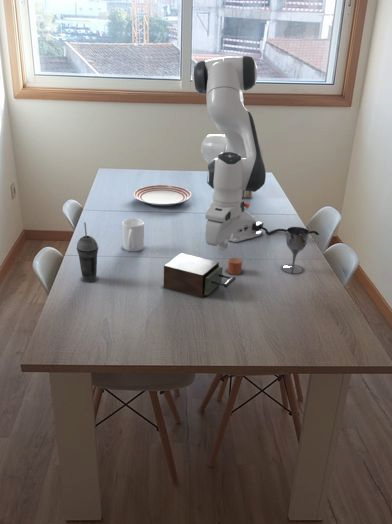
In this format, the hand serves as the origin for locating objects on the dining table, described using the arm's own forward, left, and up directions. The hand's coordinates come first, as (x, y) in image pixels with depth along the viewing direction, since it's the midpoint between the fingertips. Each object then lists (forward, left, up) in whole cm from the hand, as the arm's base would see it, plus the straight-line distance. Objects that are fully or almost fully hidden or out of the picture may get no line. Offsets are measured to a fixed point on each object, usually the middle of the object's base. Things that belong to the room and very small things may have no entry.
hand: (223, 249), depth 188 cm
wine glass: (-35, -6, -16) cm, 39 cm away
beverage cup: (+36, -28, -16) cm, 48 cm away
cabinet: (+6, -9, -16) cm, 19 cm away
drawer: (+3, -5, -15) cm, 16 cm away
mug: (+12, -46, -16) cm, 50 cm away
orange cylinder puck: (-14, -13, -16) cm, 24 cm away
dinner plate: (-25, -96, -16) cm, 100 cm away
